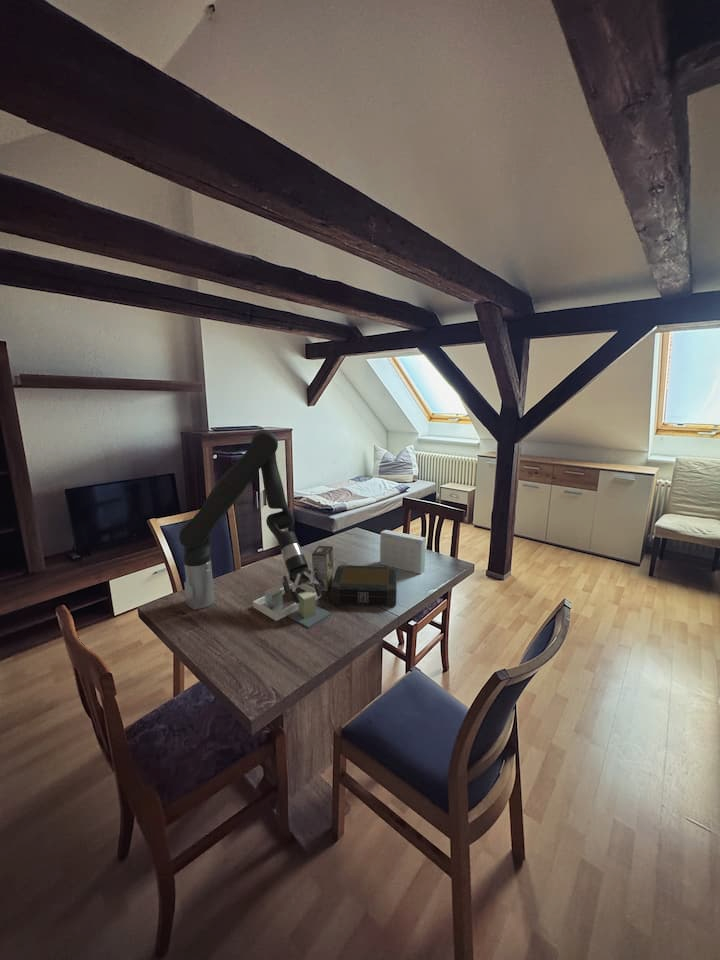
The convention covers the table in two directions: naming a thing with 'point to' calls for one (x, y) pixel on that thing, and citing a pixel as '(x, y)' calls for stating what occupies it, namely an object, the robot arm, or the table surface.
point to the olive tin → (307, 603)
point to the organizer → (286, 611)
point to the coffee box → (324, 565)
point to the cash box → (364, 586)
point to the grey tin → (274, 599)
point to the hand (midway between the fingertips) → (309, 599)
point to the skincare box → (402, 551)
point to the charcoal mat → (310, 617)
